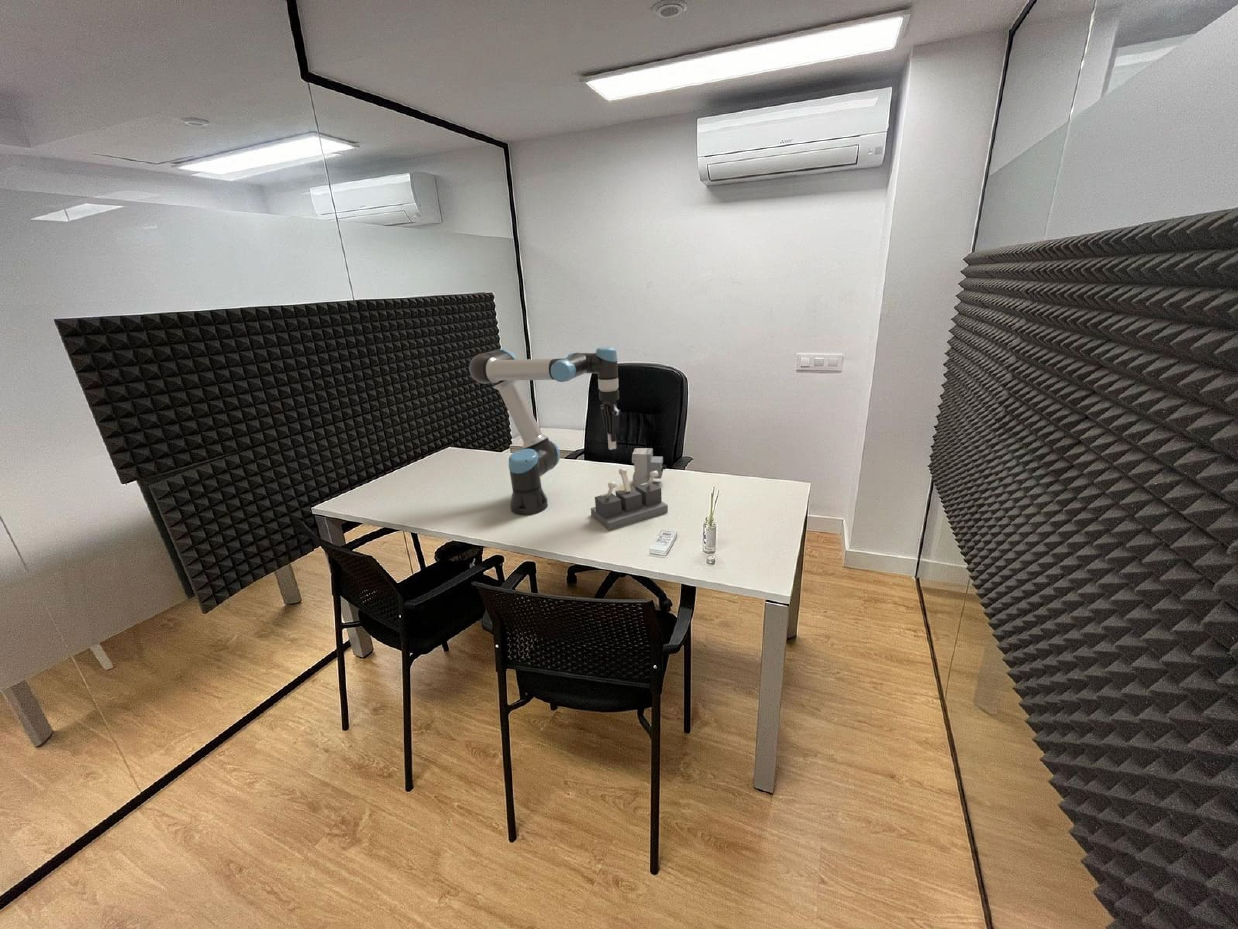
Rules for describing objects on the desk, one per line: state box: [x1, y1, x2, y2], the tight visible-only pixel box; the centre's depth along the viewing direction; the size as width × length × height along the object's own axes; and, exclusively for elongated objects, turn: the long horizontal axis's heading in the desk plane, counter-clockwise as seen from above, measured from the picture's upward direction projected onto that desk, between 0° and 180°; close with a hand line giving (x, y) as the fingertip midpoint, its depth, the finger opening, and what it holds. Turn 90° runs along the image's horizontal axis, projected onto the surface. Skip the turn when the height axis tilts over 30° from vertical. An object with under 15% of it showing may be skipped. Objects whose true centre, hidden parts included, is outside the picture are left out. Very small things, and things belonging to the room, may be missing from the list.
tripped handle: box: [618, 467, 631, 492], centre depth 185 cm, size 2×2×9 cm
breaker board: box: [590, 471, 669, 531], centre depth 186 cm, size 15×26×17 cm, turn 119°
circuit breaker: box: [631, 447, 667, 486], centre depth 213 cm, size 8×14×15 cm, turn 78°
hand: (612, 448), depth 189 cm, fingers closed
